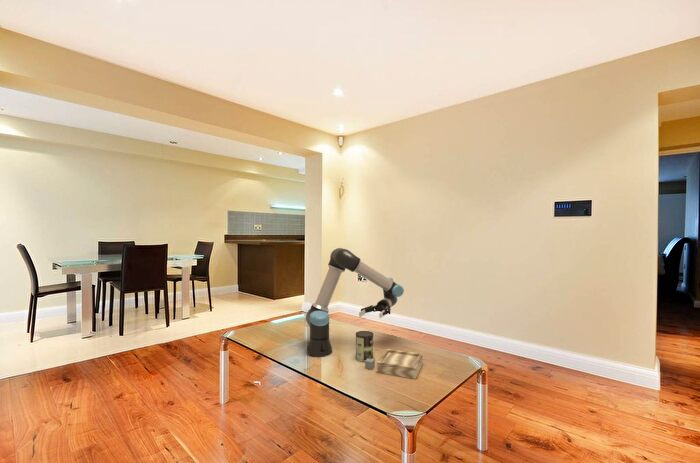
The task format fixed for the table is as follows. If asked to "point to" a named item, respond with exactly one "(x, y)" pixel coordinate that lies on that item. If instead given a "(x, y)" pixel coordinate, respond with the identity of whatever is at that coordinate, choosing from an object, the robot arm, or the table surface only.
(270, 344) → the table surface
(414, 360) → the light wood tray
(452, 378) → the table surface
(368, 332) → the coffee can
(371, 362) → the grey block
